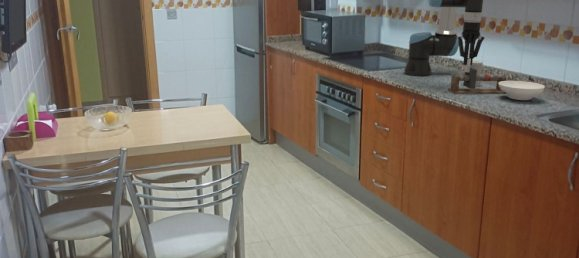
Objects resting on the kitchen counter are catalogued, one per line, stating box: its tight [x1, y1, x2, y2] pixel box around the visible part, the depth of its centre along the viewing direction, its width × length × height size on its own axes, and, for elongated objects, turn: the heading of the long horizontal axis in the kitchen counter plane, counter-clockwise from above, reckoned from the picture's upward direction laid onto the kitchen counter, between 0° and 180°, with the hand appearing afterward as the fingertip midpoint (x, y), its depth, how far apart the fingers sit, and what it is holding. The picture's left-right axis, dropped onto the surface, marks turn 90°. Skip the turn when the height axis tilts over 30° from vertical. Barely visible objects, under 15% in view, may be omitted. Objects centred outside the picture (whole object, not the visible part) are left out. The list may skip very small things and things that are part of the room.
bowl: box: [498, 80, 546, 101], centre depth 246 cm, size 20×20×7 cm
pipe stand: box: [447, 73, 507, 95], centre depth 260 cm, size 26×8×9 cm, turn 95°
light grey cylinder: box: [470, 60, 483, 88], centre depth 277 cm, size 8×8×12 cm
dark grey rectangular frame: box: [462, 67, 477, 89], centre depth 259 cm, size 2×8×9 cm, turn 5°
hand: (466, 71), depth 258 cm, fingers closed
